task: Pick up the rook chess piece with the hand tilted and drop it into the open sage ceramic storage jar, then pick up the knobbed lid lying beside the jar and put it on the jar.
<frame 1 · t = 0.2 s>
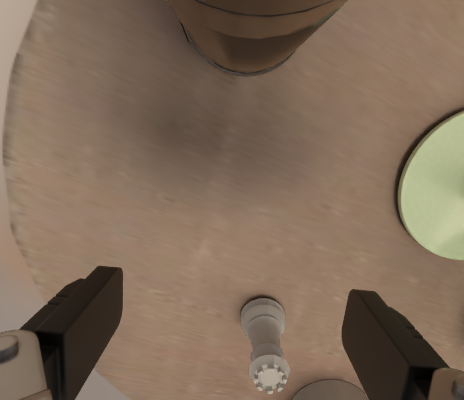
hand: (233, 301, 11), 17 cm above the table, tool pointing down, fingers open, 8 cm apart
rook chess piece: (262, 312, 32), on the table
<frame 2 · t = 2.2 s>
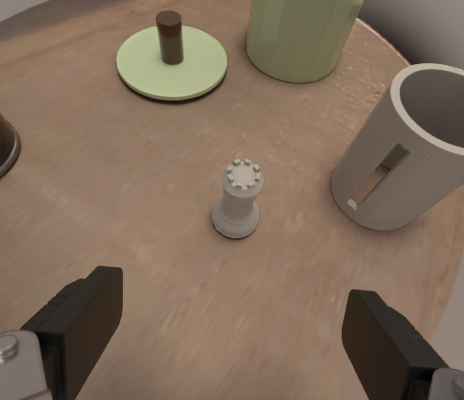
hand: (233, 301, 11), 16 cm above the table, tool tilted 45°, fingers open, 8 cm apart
cup: (372, 191, 33), on the table
rook chess piece: (234, 219, 30), on the table
jar lid: (173, 61, 39), point 1 cm above the table
jar: (291, 51, 43), on the table
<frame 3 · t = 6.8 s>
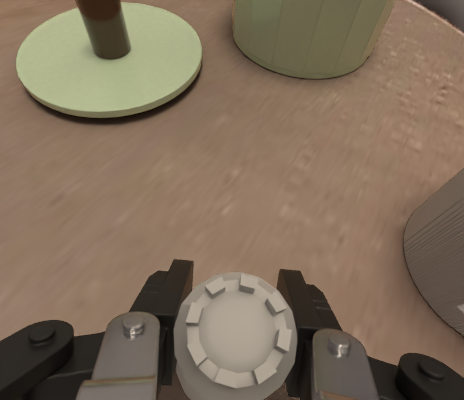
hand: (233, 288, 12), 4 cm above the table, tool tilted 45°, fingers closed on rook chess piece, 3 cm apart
rook chess piece: (225, 356, 14), on the table, touching gripper
jar lid: (114, 55, 24), point 1 cm above the table
jar: (301, 34, 28), on the table
when the fingers open (14 cm above the table, at t = 13.7 s): rook chess piece drops 9 cm, resting on jar.
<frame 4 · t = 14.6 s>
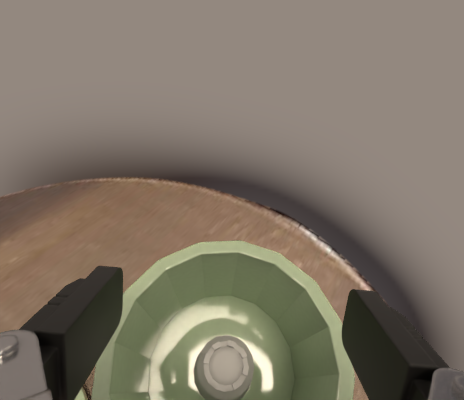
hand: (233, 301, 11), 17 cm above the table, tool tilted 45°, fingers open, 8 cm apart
rook chess piece: (222, 371, 24), resting on jar
jar: (221, 369, 24), on the table
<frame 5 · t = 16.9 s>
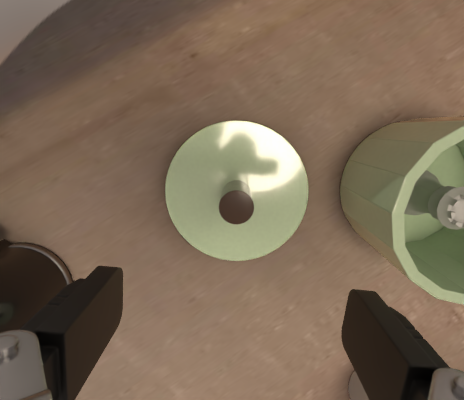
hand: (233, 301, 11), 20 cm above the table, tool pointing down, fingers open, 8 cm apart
cup: (387, 384, 35), on the table
rook chess piece: (406, 189, 30), resting on jar
jar lid: (236, 193, 30), point 1 cm above the table
jar: (405, 186, 30), on the table
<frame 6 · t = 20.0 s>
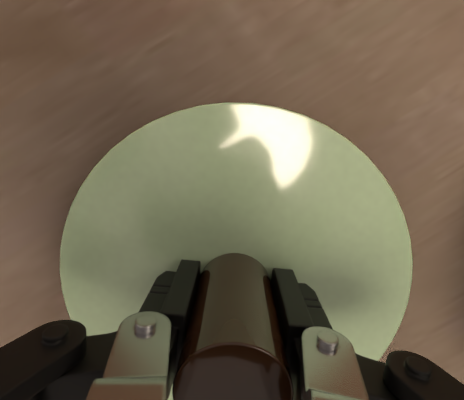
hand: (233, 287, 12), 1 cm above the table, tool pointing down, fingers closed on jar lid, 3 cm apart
jar lid: (234, 278, 12), point 1 cm above the table, touching gripper
when the fingers open (11 cm above the table, at t = 27.6 s): jar lid stays where it is, resting on jar.
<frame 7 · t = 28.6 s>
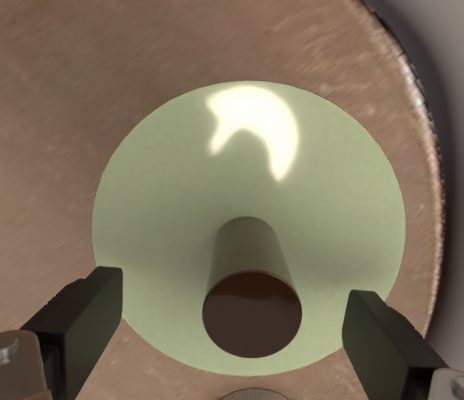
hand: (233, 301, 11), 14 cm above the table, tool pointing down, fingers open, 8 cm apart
jar lid: (246, 241, 14), point 10 cm above the table, touching jar
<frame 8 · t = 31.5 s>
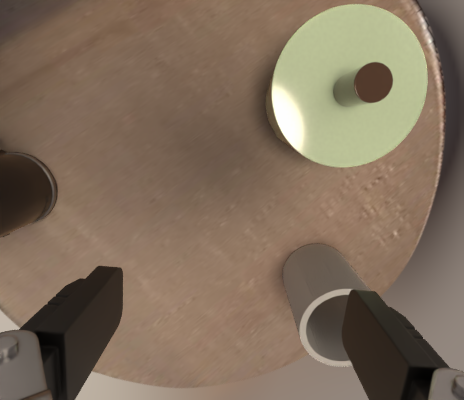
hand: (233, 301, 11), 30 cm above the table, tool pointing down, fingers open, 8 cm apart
cup: (314, 273, 43), on the table
jar lid: (346, 91, 28), point 10 cm above the table, touching jar
jar: (317, 101, 38), on the table
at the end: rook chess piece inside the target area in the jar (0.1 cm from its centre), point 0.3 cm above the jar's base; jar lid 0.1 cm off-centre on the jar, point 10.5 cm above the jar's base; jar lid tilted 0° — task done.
